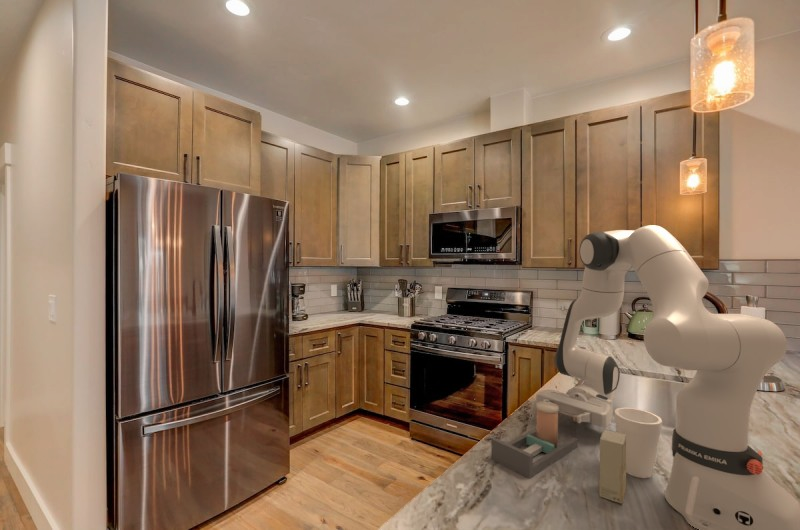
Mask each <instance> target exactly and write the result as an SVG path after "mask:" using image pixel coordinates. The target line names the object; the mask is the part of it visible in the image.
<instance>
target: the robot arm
mask: <svg viewBox="0 0 800 530" xmlns="http://www.w3.org/2000/svg"><path fill="white" fill-rule="evenodd" d="M578 251H579V253H578V254H579V259H580V261H581V262H582V264H583V265H584V270H583V276H582V286H581V292H580V295H579V296H578V298H576V299H573V300H572V301H571V302H570V304H569V307H568V309H567V311H566V315H565V319H564V323H563V327H562V333H561V336H560V340H559V344H558V347H557V348H556V351H555V354H554V359H553V363H554V366H555V368H556V369H557V370H558V372H559V373H560V374H561V375H564V376H567V377H572V378H575V379H578V380H581V381H583V383H582V384H578V385H576V386H573V387H571V388H570V389H567V391H566V393H565V392H562V391H557V390H554V389H543V390H541V391H537V392H536V394H535V402H536V403H535V404H537V403H538V402H541V401H545V402H551V403H554V404H556V405H558V407H559V411H558V413H560V414H564V415H565V416H569V417H573V422H575V423H577V424H581V423H589V424H593V425H595V426H598V427H601V428H602V427H603V428H607V427H608V426H610V424H611V423H612V421H613V418H614V416H613V415H614V403H613V400H614V399H615V396H616V390H617V388H618V385H619V382H620V376H621V374H620V367H619V366H618V365H619V364H617V362H616V360H615V359H614V358H613V357H612V356H610V355H607V354H603V353H600V352H596V351H593V350H589V349H585V348H582V347H580V346H579V345H577V344H578V343H577V342H578V337H579V334H580V330H581V325H582V323H583V322H584V321H586V320H593V319H600V318H605V317H609V316H611V315H613V314H615V313H616V312H618V311H619V310H620V308H621V307H622V306H623V305H622V304H623V301H624V296H625V278H626V274H627V273H628V272H632V271H634V272H635V274H636V276H637V278H638V279H639V282H641V284H642V286H643V288H644V290H645V292H646V293H647V296H648V298H649V300H650V302H651V304H652V309H653V312H652V313H653V315H652V319H651V320H650V321H649V323H648V324H647V325H646V327H645V329H644V332H643V344H644V347H645V349H646V351H647V353H648V354H649V357H651V359H652V360H653V361H655V362H656V364H659V365H660V366H664V367H668V368H672V369H678V370H683V371H696V372H695V374H694V376H693V377H692V379H690V381H689V382H688V383H687V384H685V385H683V386H682V387H681V388H680V389H679V390H678V392H677V395H676V397H675V398H676V399H675V401H676V403H675V405H676V406H675V428H673V431H672V434H671V435H672V436H671V452H672V453H671V454H672V457H673V459H672V466H671V472H670V476H669V480H668V482H667V485H666V486H665V490H664V492H663V496H664V498H665V500H666V502H667V503H668V504H669V506H671V507H672V508H673V509H674V510H675V511H677V512H678V513H679V514H680V515H682V516H683V518H684V519H685V521H686V522H687V523H688V525H689V524H690V525H691V527H692V526H693V527H694V528H693V527H692V528H693V529H695V528H697V529H700V530H800V503H799V502H798V501H797V499H796V498H795V497H793V495H792V494H790V493H789V492H788V491H786V490H785V489H784V488H783V487H782V486H781V485H780V484H779V483H777V482H776V481H775V480H773V479H772V478H771V477H770V476H769V475H768V474H766V473H765V471H763V470H764V465H763V463H764V462H763V457H762V455H763V454H762V451H761V450H759V451H758V452H756V450H754V449H753V448H752V447H751V446H750V445H749V427H750V413H751V408H752V405H753V404H752V403H753V401H754V397H755V395H756V393H757V391H758V389H759V386H760V385H761V383H762V381H763V379H764V378H765V376H766V374H767V373H768V372H769V371H770V370H771V369H772V368H773V367H774V366H775V365H776V364H778V363H780V362H781V361H782V360H783V358H785V356H786V354H787V350H788V342H787V338H786V336H785V333H784V332H783V330H782V329H781V328H780V327H779V326H778V325H777V324H776V323H775V322H772V321H771V320H769V319H765V318H762V317H758V316H755V315H749V314H744V313H712V312H710V311H709V310H708V309H707V308H706V307H705V305H704V303H703V300H702V299H703V298H704V297H705V296H706V294H707V292H708V290H709V287H710V282H709V279H708V278H707V276H706V275H705V274H704V272H703V270H701V268H700V267H699V266H698V264H697V262H696V261H695V260H694V259H693V258H692V256H691V255H690V253H689V251H688V250H687V249H686V248H685V247H684V246H683V245H682V244H681V242H680V241H679V240H677V238H676V237H675V236H673V235H672V234H671V232H669V231H668V230H667V229H665V228H664V227H662V226H660V225H657V224H656V225H655V224H654V225H653V224H652V225H651V224H649V225H648V224H647V225H644V226H641V227H638V228H637V229H634V230H633V229H632V230H631V229H629V230H626V229H615V230H609V231H608V230H607V231H595V232H592V233H588V234H587V235H585V236H584V237H583V239H582V240H581V242H580V244H579V250H578ZM690 525H689V526H690ZM697 529H696V530H697Z"/></svg>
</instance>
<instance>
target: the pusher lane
mask: <svg viewBox="0 0 800 530" xmlns="http://www.w3.org/2000/svg"><path fill="white" fill-rule="evenodd" d="M536 428H537V427H535V428H533V429H531V430H530V431H528V432H526V433H523V434H521V435H519V436H517V437H516V438H514V439H512V440H510V441H508V442H505V441H503V440H501V439H499V438H496V437H493V438H491V453H490V454H491V457H490V458H491V460H493V462H496V463H498V464H500V465H503V466H504V467H506V468H508V469H509V470H512V471H514V472H515V473H518V474H519V475H522V476H524V477H525V478H527V479H531V478H533V477H534V476H536V475H537V474H538V473H540V472H542V471H544V469H547V468H548V467H549V466H551V465H553V464H554V463H555V462H557V461H558V460H560V459H561V458H563V457H565V456H566V455H568V454H569V453H570V452H572V451H573V450H575V449H576V448H578V442H579V441H578V440H579V439H578V438H575V437H572V438H570V439H569V440H567V441H565V442H564V443H562V444H561V445H559V446H557V448H556V449H554V450H552V451H551V452H549V453H548V454H547V453H545V455H542V456H541V457H539V458H538V459H536V460H535V461H534V456H533V455H532V454H530V453H527V452H525V451H523V450H524V449H521V448H522V447H524V446H527V445H526V435H528V434H530V435H532V436H535V437H536Z"/></svg>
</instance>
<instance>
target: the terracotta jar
mask: <svg viewBox="0 0 800 530" xmlns="http://www.w3.org/2000/svg"><path fill="white" fill-rule="evenodd" d="M558 411H559V407H558V405H556V404H554V403H551V402H545V401H541V402H538V403H536V427H535V428H536V437H537V438H539V439H542V440H544V441H547V442H549V443H551V444H554V445H555V449H556V448H557V447H558V436H559V435H558V433H559V432H558V431H559V430H558V428H559V412H558Z"/></svg>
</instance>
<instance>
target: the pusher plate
mask: <svg viewBox="0 0 800 530" xmlns="http://www.w3.org/2000/svg"><path fill="white" fill-rule="evenodd" d="M525 446H528V447H526V448H525V449H522V450H523V451H525V452H527V453H530V454H532V455H533V457H535V456H536V455H538V454H540V453H545V454H548V453H549V452H551V451H552V450H554V449H555V445H554V444H551V443H549V442H547V441H544V440H542V439H539V438H537V437H535V436H532V435H530V434H528V435H526V445H525Z"/></svg>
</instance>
